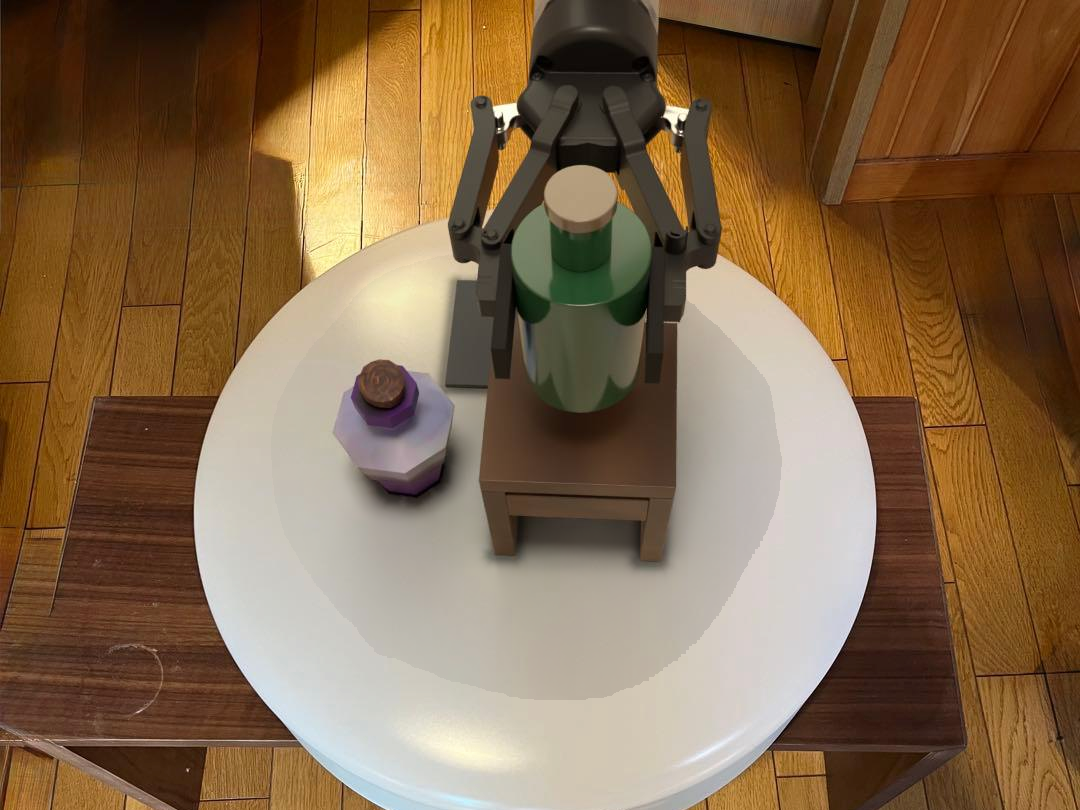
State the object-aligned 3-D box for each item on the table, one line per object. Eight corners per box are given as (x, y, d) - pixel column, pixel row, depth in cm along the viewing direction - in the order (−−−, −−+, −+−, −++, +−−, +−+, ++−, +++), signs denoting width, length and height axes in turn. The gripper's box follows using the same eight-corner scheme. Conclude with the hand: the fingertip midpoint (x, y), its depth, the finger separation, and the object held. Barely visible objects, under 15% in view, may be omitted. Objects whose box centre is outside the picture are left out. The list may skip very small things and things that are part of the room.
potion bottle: (345, 429, 75) (304, 339, 64) (454, 405, 75) (432, 310, 64) (363, 528, 71) (323, 451, 60) (477, 502, 72) (458, 420, 61)
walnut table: (663, 416, 74) (677, 322, 63) (661, 561, 69) (676, 488, 58) (507, 411, 75) (494, 317, 64) (494, 554, 70) (478, 480, 59)
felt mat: (578, 286, 79) (578, 282, 79) (573, 391, 75) (572, 388, 75) (457, 282, 80) (457, 279, 79) (445, 386, 76) (444, 384, 75)
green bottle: (648, 320, 58) (666, 143, 45) (632, 420, 55) (646, 262, 43) (534, 306, 59) (520, 128, 46) (512, 404, 56) (491, 244, 43)
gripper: (753, 93, 61) (764, 411, 52) (438, 90, 62) (394, 399, 53) (775, -18, 54) (792, 327, 45) (419, -19, 55) (366, 316, 46)
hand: (576, 365), depth 49 cm, fingers closed on green bottle, 7 cm apart
